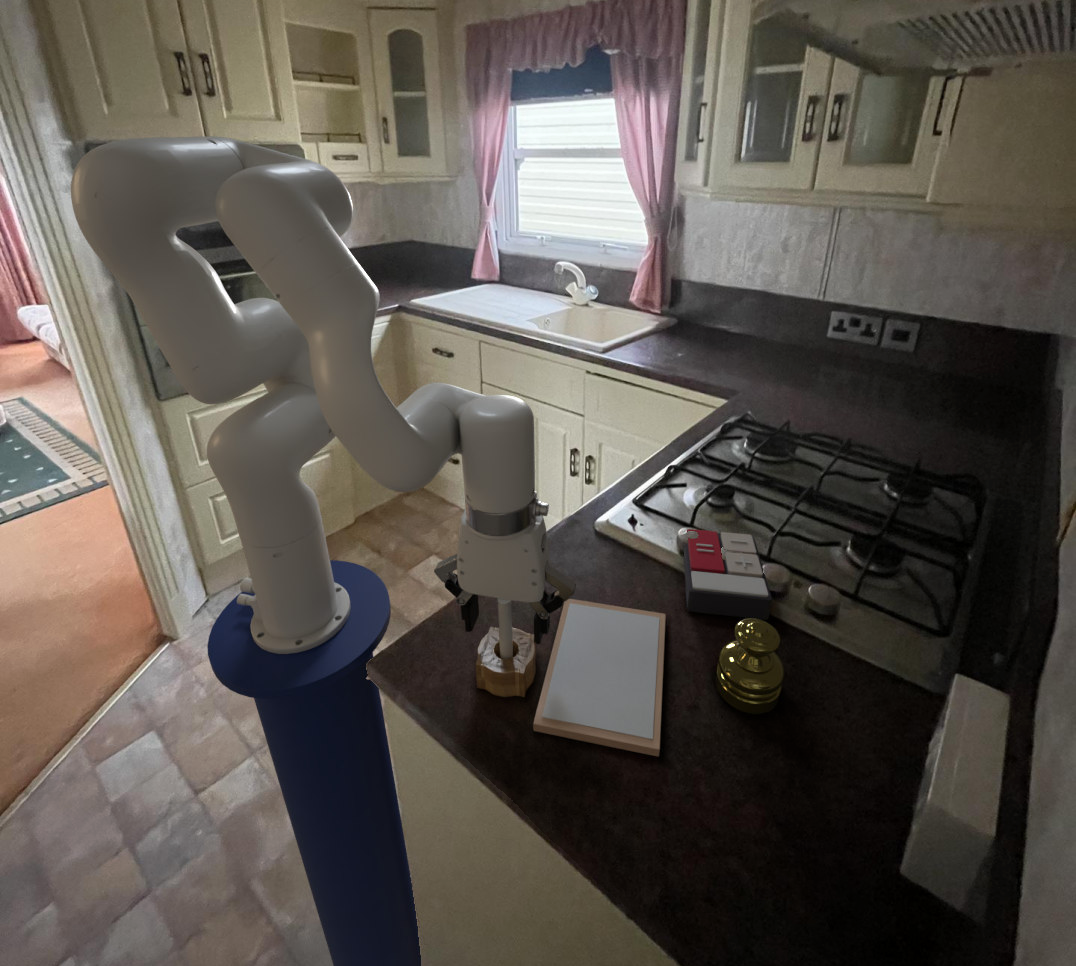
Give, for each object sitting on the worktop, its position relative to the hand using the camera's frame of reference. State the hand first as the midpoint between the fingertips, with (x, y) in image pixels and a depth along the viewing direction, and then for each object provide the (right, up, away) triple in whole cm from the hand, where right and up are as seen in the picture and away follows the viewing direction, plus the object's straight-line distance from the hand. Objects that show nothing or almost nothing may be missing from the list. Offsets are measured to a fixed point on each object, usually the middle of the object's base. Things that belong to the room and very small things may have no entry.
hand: (505, 628), depth 71 cm
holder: (0, -7, +3) cm, 7 cm away
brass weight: (+29, -8, +1) cm, 30 cm away
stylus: (0, -7, +3) cm, 7 cm away
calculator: (+31, 0, +18) cm, 36 cm away
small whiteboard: (+12, -7, +3) cm, 14 cm away
